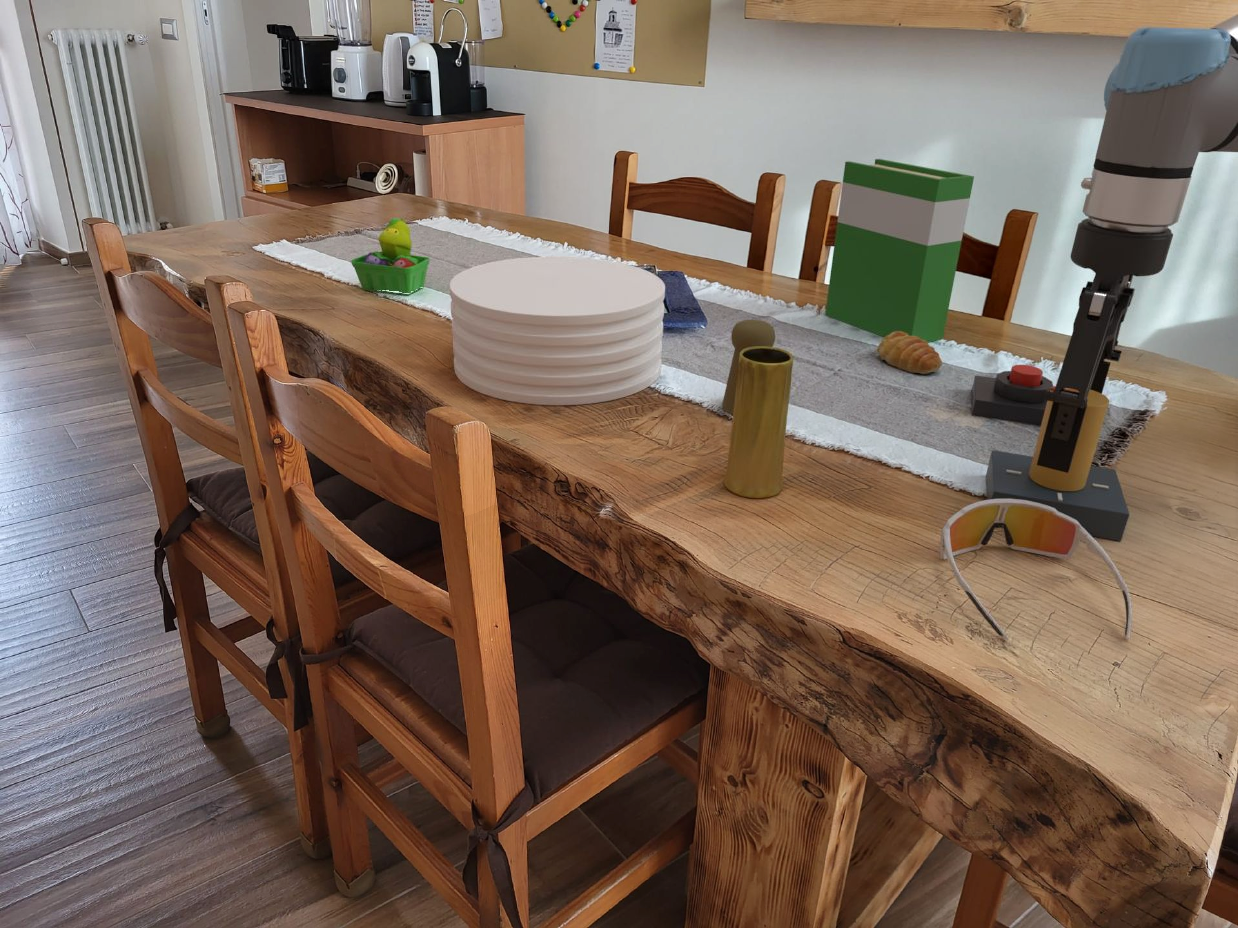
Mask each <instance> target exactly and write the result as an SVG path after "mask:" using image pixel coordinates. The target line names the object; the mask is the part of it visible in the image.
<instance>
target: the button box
mask: <svg viewBox="0 0 1238 928" xmlns="http://www.w3.org/2000/svg"><path fill="white" fill-rule="evenodd" d="M1010 373H1011V370H1004V371H1001V372H999V373H997V374H996V376H995V377H990V376H982V375H974V379H973V383H972V388H971V416H973V417H978V418H986V419H992V420H998V421H1005V422H1006V421H1007V422H1013V423H1020V424H1026V425H1032V426H1033V425H1034V426H1040V427H1041V424H1042V420H1043V416H1044V412H1045V408H1046V404H1047V400H1045V396H1046V392H1047V391H1050V390H1051V387H1052V386H1053V387H1056V385H1054V384H1053V381H1052V380H1051V379H1049V378H1048V377H1045V375H1042V378H1041V382H1040V386H1023V385H1019V384H1015V383H1012V382H1011V381H1009V377H1010Z"/></svg>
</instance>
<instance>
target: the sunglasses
mask: <svg viewBox="0 0 1238 928" xmlns="http://www.w3.org/2000/svg"><path fill="white" fill-rule="evenodd" d="M995 529H1001V531H1002V534H1003V536H1004V538H1005V542H1006V545H1007V546H1008V547H1009V548H1010V549H1011V550H1016V551H1021V552H1026V553H1031V554H1036V555H1041V556H1045V557H1052V558H1057V559H1061V560H1071V559H1072V557H1073V556H1074V554H1075V552H1076V551H1077V549H1078V546H1079V544H1080V542H1082V543H1083V544H1084V545H1085V547H1086V548H1087V549H1088V551H1089V552H1090V553H1093V554H1094V555H1096V556H1097V557H1098V558H1100V559H1101V560H1102V561H1103V562H1104V563H1105V564H1106V565H1107V567H1108V569H1109V570H1110V573H1111V574H1112V576H1113V578H1114V580H1115V582H1116V584H1117V587H1118V588H1119V590H1120V591H1121V594H1122V596H1123V600H1124V604H1125V620H1126V621H1125V629H1124V639H1125V640H1130V638H1131V633H1132V632H1131V630H1132V623H1133V622H1132V616H1133V615H1132V611H1133V610H1132V601H1131V596H1130V592H1129V591H1130V590H1129V588H1128V586H1127V584H1126V582H1125V580H1124V578H1123V577H1122V575H1121V574H1120V573H1121V572H1120V571H1119V569H1118V568H1117V566H1116V565H1115V564H1114V562H1113V561H1112V559H1111V557H1110V556H1109V555H1108V553H1107V552H1106V550H1105V549H1104V548H1103V547H1102V546H1101V544H1100V543H1099V542H1098V541H1097V540H1096V539H1095V537H1094V536H1091V535H1090V534H1089V533H1088V532H1087V531H1086V530H1085V529H1084V528H1083V527H1082V526H1081V525H1080V524H1079V522H1078V521H1077V520H1075V519H1073V518H1071V517H1069V516H1067V515H1065V514H1063V513H1061V512H1058V511H1057V510H1056V509H1055V508H1053V507H1050V506H1047V505H1044V504H1040V503H1036V502H1032V501H1027V500H1019V499H990V500H987V499H985V500H979V501H976V502H974V503H971V504H968V505H966V506H964V507H962V508H961V509H960V510H958V511H957V512H956V513H954V514H953V515H952V516H951V517H950V518H949V519H948V520H947V521H946V523H945V524H944V526H943V527H942V530H941V533H940V540H939V555H940V558H941V559H942V560H947V561H948V563H949V565H950V567H951V570H952V572H953V574H954V576H955V579H956V582H957V584H958V585H959V586H960V589H962V590H963V592H964V593H965V594H966V596H967V597H968V598H969V600H970V602H971V603H972V604H973V606H975V609H977V610H978V612H979V613H980V614H981V616H982V617H983V618H984V620H985V621H986V622H987V623H988V624H989V626H990V627H991V628H992V629H993V631H994V632H995V633H996V634H997V635H998V636H999V637H1000V639H1002V640H1005V641H1009V640H1010V638H1009V636H1008V635H1007V633H1006V632H1005V631H1004V630H1003V629H1002V628H1001V626H1000V625H999V624H998V623H997V621H996V620H995V619H994V618H993V616H992V615H991V614H990V612H989V611H988V610H987V609H986V608H985V606H984V605H983V603H982V602H981V600H980V599H979V598H978V597H977V596H976V594H975V593H974V591H973V590H972V589H971V586H969V585H968V583H967V581H966V580H965V579H964V577H963V576H962V574H961V572H960V571H959V568H958V566H957V564H956V560H955V559H954V557H955V556H958V555H962V554H966V553H968V552H971V551H977V550H979V549H980V548H981V547H982V546H987V544H988V543H989V542H990V540H991V538H992V536H993V534H994V531H995Z"/></svg>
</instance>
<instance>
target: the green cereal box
mask: <svg viewBox="0 0 1238 928" xmlns="http://www.w3.org/2000/svg"><path fill="white" fill-rule="evenodd" d="M974 179H975V176H974V175H969V174H963V173H958V172H952V171H947V170H942V169H936V168H931V167H926V166H922V165H921V166H920V165H915V164H910V163H904V162H898V161H893V160H889V159H888V160H887V159H883V158H874V164H865V163H860V162H856V161H849V160H847V161H845V162H844V169H843V177H842V183H841V185H842V186H841V191H840V201H839V207H838V214H837V222H836V230H835V238H834V244H833V245H834V246H833V252H832V258H831V259H832V260H831V267H830V273H829V274H830V275H829V281H828V282H829V283H828V289H827V290H828V291H827V297H826V305H825V312H824V316H827V317H829V318H831V319H834V320H838V321H840V322H842V323H846V324H848V325H850V326H854V327H855V328H859V329H861V330H864V331H866V332H869V333H872V334H875V335H877V336H880V337H883V338H884V337H886V336H887V335H890V334H891V333H892V332H895V331H901V332H904V333H907V334H908V335H909V336H917V337H919V338H920V339H922V340H926V342H927V343H928V344H929V343H931V342H935V341H941V340H943V338H944V334H945V330H946V324H947V320H948V319H947V318H948V313H949V308H950V303H951V297H952V293H953V287H954V283H955V277H956V272H957V267H958V262H959V257H960V251H961V246H962V243H963V237H964V236H963V235H964V230H965V226H966V221H967V215H968V210H969V206H970V205H969V204H970V199H971V195H972V189H973V185H974Z"/></svg>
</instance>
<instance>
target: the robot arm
mask: <svg viewBox="0 0 1238 928" xmlns="http://www.w3.org/2000/svg"><path fill="white" fill-rule="evenodd" d="M1103 101H1104V108H1105V116H1104V120H1103V124H1102V128H1101V133H1100V137H1099V141H1098V145H1097V148H1096V149H1097V150H1096V153H1095V158H1094V162H1093V168H1092V171H1091V177H1084V178H1083V180H1082V181H1081V182H1080V187H1081V188H1082V189H1084V190H1089V192H1087V194H1086V195H1085V199H1084V202H1083V206H1082V213H1083V215H1085V217H1088V218H1084V219H1082V220H1081V221H1080V222H1078V223H1077V227H1076V231H1075V236H1074V240H1073V244H1072V248H1071V253H1070V259H1071V262H1072V263H1073V264H1075V266H1077V267H1080V268H1083V269H1089V270H1091V271H1092V272H1093V273H1094V276H1093V277H1094V278H1093V280H1092V281H1090V280H1087V282H1086V284H1085V286H1083V287H1082V288H1081V291H1080V294H1079V298H1078V309H1077V312H1076V315H1075V318H1074V320H1073V323H1072V333H1071V336H1070V339H1069V343H1068V346H1067V348H1066V351H1065V355H1064V358H1063V361H1062V365H1061V368H1060V371H1059V374H1058V377H1057V380H1056V384H1055V386H1056V387H1055V390H1054V392H1050V391H1047V392H1046V396H1045V400H1047V401H1052V402H1053V404H1052V408H1051V412H1050V415H1049V419H1048V423H1047V427H1046V431H1045V435H1044V439H1043V442H1042V446H1041V450H1040V454H1039V458H1038V462H1037V465H1039V466H1042V467H1046V468H1050V469H1054V470H1058V471H1062V472H1066V473H1068V472H1069V469H1070V466H1071V462H1072V459H1073V455H1074V452H1075V448H1076V444H1077V441H1078V437H1079V434H1080V430H1081V426H1082V423H1083V419H1084V416H1085V412H1086V408H1087V401H1088V399H1087V397H1088V394H1089V391H1090V390H1094V391H1096V392H1099V393H1101V394H1103V391H1104V388H1105V384H1106V381H1107V377H1108V373H1109V370H1110V367H1111V361H1114V362H1119V361H1120V358H1121V355H1122V352H1123V351H1122V350H1119V349H1116V347H1117V346H1118V344H1119V335H1120V331H1121V326H1122V323H1124V321H1125V318H1126V316H1127V312H1128V310H1129V309H1128V308H1130V306H1131V304H1132V300H1133V298H1134V294H1135V290H1136V288H1133V287H1131V286H1132V282H1133V278H1134V277H1149V276H1154V275H1157V274H1160V272H1162V271H1163V269H1164V268H1165V264H1166V260H1167V257H1168V254H1169V251H1170V249H1171V245H1172V241H1173V237H1174V234H1173V232H1172V230H1171V228H1169V227H1171V226H1173V225H1175V224H1177V223H1179V219H1180V216H1181V213H1182V209H1183V207H1184V203H1185V199H1186V196H1187V193H1188V189H1189V187H1190V183H1191V179H1192V175H1193V171H1194V167H1195V164H1196V162H1197V158H1198V156H1199V153H1212V152H1217V153H1219V152H1220V153H1238V13H1237V14H1235V15H1233V16H1231V17H1229V18H1227V19H1225V20H1223V21H1221V22H1219V23H1217V24H1215V25H1213V26H1211V27H1210V28H1194V27H1192V28H1190V27H1163V26H1162V27H1161V26H1160V27H1159V26H1146V27H1145V26H1143V27H1139V28H1138V29H1136V30H1134V31H1133V32H1132V33H1131V34H1130V35H1129V36H1128V38H1127V40H1126V41H1125V44H1124V47H1123V49H1122V52H1121V54H1120V57H1119V61H1118V63H1116V65H1115V66H1114V68H1113V69H1112V70H1111V72H1110V73H1109V75H1108V78H1107V80H1106V83H1105V86H1104V90H1103ZM1106 360H1107V361H1106ZM1065 388H1070V389H1074V390H1078V391H1079V393H1077V392H1073V391H1068V390H1065Z"/></svg>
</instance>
